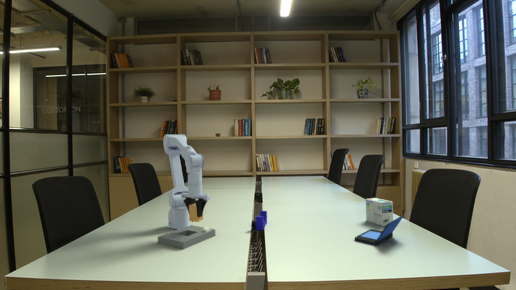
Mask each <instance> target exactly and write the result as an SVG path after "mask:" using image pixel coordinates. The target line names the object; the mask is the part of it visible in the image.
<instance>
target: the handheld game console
mask: <svg viewBox="0 0 516 290" xmlns="http://www.w3.org/2000/svg"><path fill="white" fill-rule="evenodd" d="M403 217H404V216H402V215H401V216H399V217H397V218H395V219H393V221H392V222H390V223H388V224H387V225H386V226H384V228H383V229H382V230H380V229H375V228H374V229H368V230H366V231H364V232H362V233H360V234H359V235H356V236H355V237H354V241H355V242H359V243H364V244H367V245H372V246H376V247H377V246H380V245H381V244H383V243H384V241H387V240H389V239H390V238H392V237H393V236H394V233H393V232H394V231H395V230H396V228H397V226H398V225H399V224H400V222H401V221H402V219H403Z"/></svg>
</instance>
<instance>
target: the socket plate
mask: <svg viewBox="0 0 516 290" xmlns="http://www.w3.org/2000/svg"><path fill="white" fill-rule="evenodd" d="M215 236H216V229H215V228H214V229H213V228H212V227H209V226H207V227H203V226H198V225H194V224H191V225H190V226H187V227H184V228H181V229H178V230H177V229H174V230H173V231H171V232H167V233H164V234H161V235H158V236H157V244H161V245H164V246H168V247H173V248H176V249H182V250H186V249H188V248H191V247H192V246H194V245H197V244H199V243H201V242H203V241H206V240H208V239H210V238H213V237H215Z"/></svg>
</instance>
